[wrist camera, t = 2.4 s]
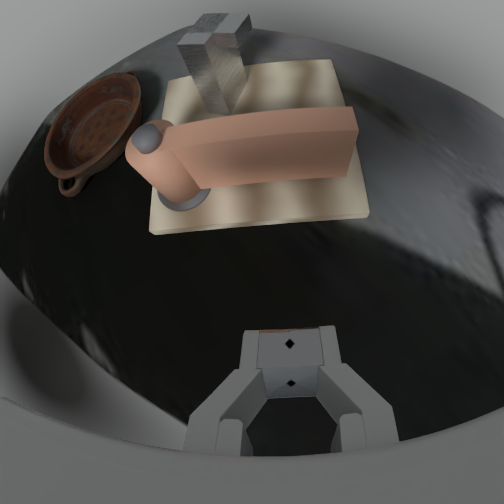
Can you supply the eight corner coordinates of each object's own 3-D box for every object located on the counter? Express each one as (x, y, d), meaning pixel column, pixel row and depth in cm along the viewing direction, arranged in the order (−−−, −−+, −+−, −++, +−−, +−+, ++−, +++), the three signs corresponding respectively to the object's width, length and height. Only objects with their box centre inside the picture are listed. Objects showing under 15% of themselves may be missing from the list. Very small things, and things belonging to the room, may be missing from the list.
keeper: (247, 118, 32) (225, 44, 21) (208, 112, 33) (176, 44, 22) (263, 84, 33) (249, 13, 22) (226, 80, 34) (203, 13, 23)
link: (159, 205, 30) (114, 166, 21) (163, 165, 31) (124, 119, 22) (347, 187, 27) (365, 134, 19) (339, 145, 29) (350, 86, 20)
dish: (42, 195, 37) (22, 183, 33) (99, 86, 41) (85, 70, 36) (117, 210, 34) (94, 196, 29) (178, 79, 38) (167, 57, 33)
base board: (330, 66, 34) (330, 57, 32) (366, 217, 29) (370, 211, 27) (172, 87, 37) (167, 79, 35) (155, 235, 32) (147, 230, 30)
